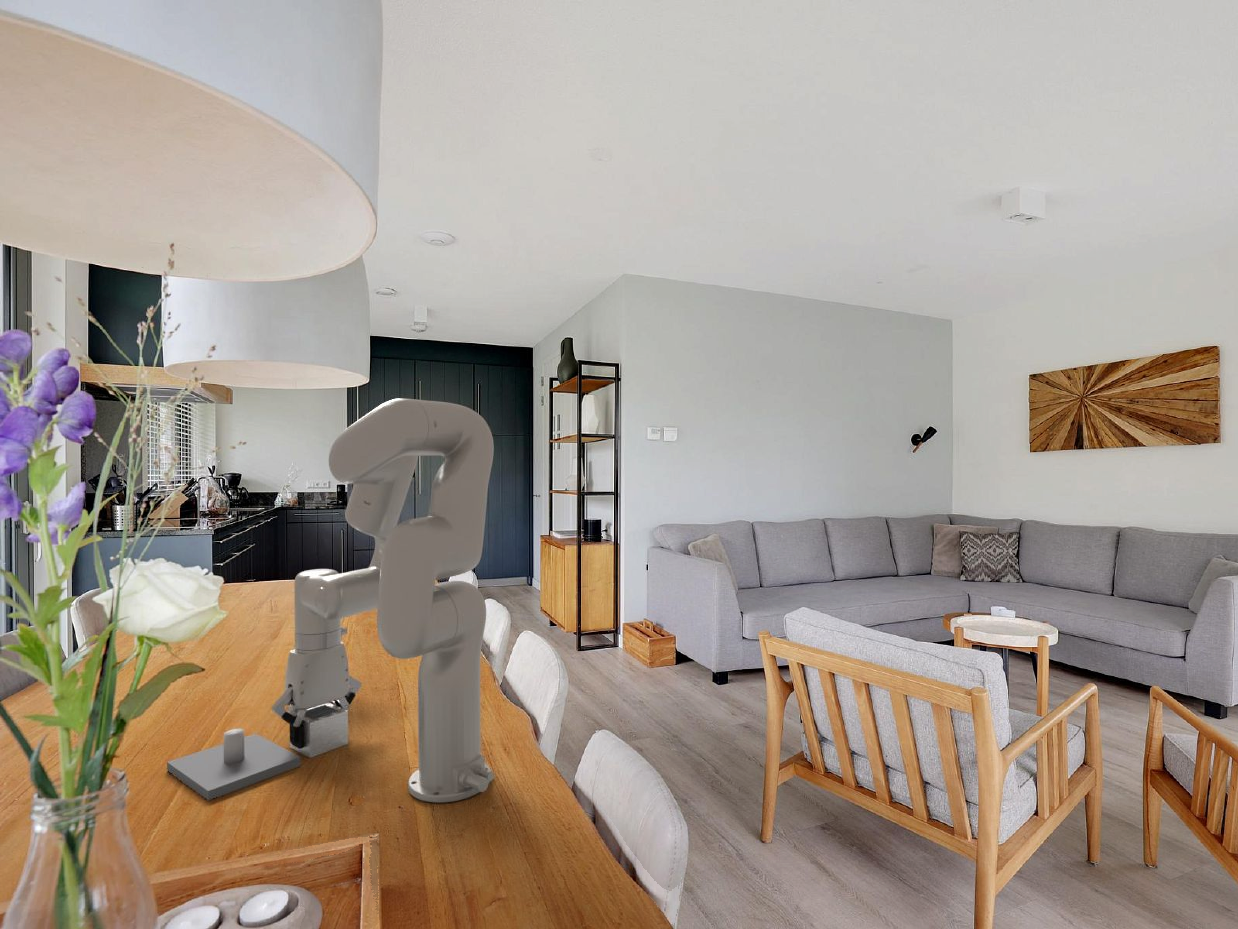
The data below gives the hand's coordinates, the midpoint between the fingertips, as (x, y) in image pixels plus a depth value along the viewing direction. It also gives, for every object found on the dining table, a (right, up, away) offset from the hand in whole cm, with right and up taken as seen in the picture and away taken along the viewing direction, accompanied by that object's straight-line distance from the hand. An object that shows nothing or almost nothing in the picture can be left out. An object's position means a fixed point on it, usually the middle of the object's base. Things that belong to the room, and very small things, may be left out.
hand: (319, 738), depth 118 cm
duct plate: (-10, -1, -9) cm, 13 cm away
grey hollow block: (-2, -1, +1) cm, 3 cm away
